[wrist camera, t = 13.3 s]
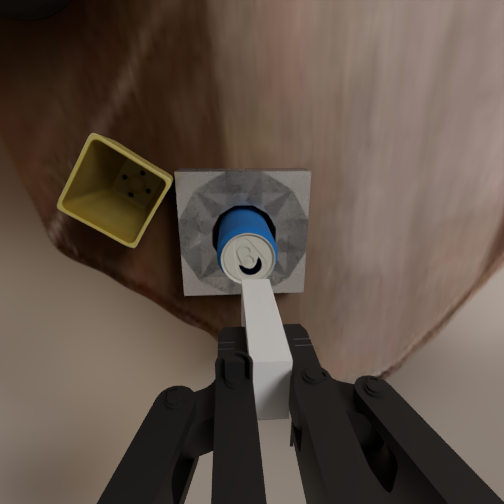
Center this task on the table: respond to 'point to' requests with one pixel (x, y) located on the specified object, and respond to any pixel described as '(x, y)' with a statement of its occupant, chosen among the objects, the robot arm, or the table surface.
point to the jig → (241, 193)
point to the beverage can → (245, 245)
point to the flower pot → (113, 190)
